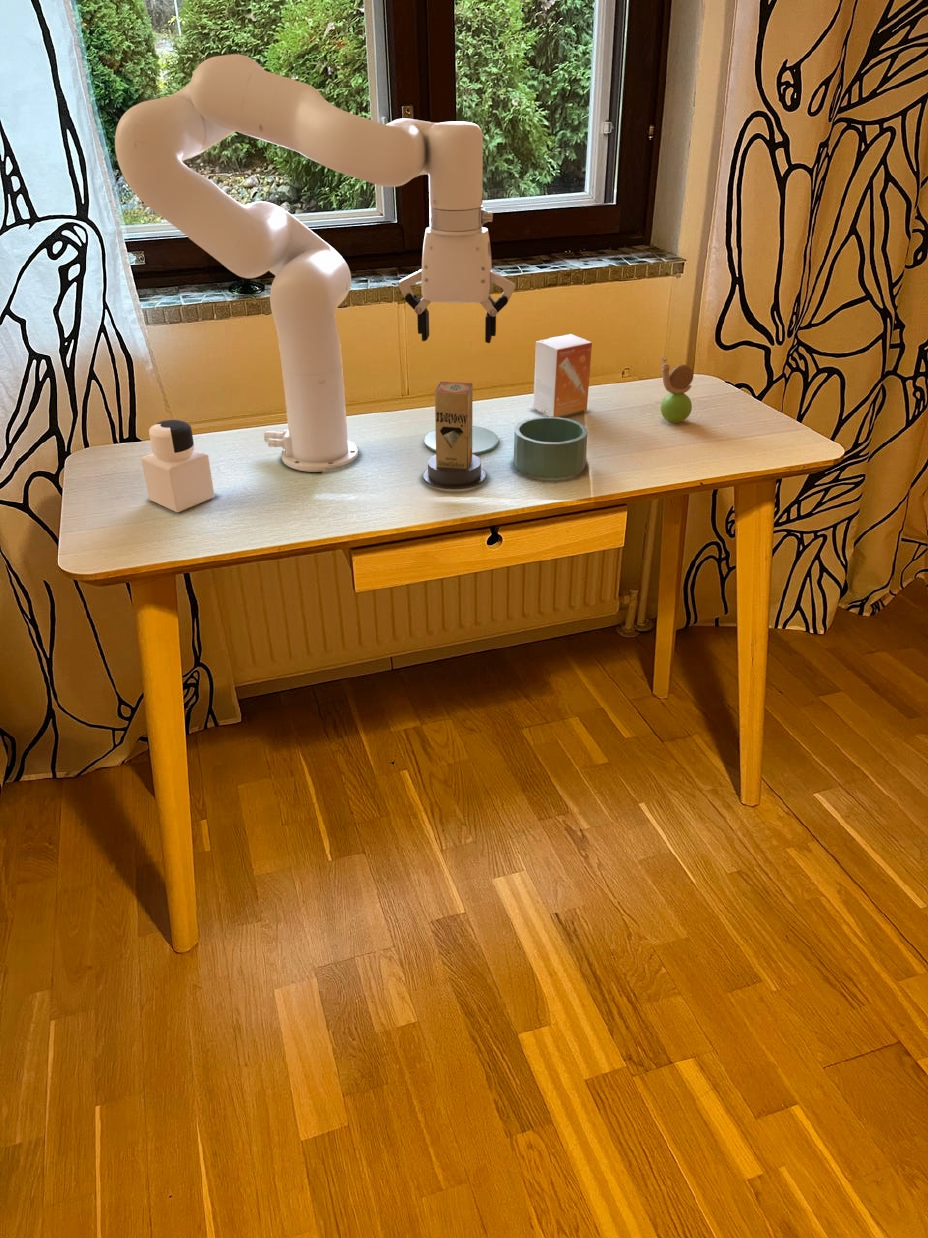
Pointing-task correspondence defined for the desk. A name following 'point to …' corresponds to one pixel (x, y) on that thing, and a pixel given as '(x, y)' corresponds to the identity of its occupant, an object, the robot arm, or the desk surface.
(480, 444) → the tin lid
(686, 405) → the snail figurine
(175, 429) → the medicine bottle
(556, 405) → the small box
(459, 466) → the shoe polish box
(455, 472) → the stand
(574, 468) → the tin
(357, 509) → the desk surface
